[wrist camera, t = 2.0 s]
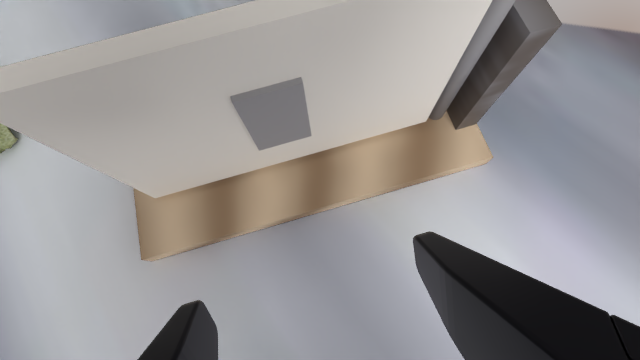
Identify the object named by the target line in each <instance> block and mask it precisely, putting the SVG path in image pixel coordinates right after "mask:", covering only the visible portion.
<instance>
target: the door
mask: <svg viewBox="0 0 640 360" xmlns="http://www.w3.org/2000/svg"><path fill="white" fill-rule="evenodd" d="M515 1H516V0H255V1H251V2H247V3H243V4H240V5H236V6H232V7H228V8H224V9H220V10H217V11H213V12H209V13H205V14H201V15H197V16H194V17H190V18H186V19H182V20H178V21H174V22H171V23H167V24H163V25H159V26H155V27H151V28H148V29H144V30H140V31H136V32H132V33H128V34H125V35H121V36H117V37H113V38H109V39H105V40H102V41H98V42H94V43H90V44H86V45H82V46H78V47H75V48H71V49H67V50H63V51H59V52H55V53H52V54H48V55H44V56H40V57H36V58H32V59H29V60H25V61H21V62H17V63H13V64H9V65H6V66H2V67H0V123H1V124H3V125H5V126H7V127H9V128H11V129H13V130H15V131H17V132H19V133H21V134H23V135H25V136H27V137H29V138H32V139H34V140H36V141H38V142H40V143H42V144H44V145H46V146H48V147H50V148H52V149H54V150H56V151H58V152H60V153H62V154H65V155H67V156H69V157H71V158H73V159H75V160H77V161H79V162H81V163H83V164H85V165H87V166H89V167H91V168H93V169H95V170H98V171H100V172H102V173H104V174H106V175H108V176H110V177H112V178H114V179H116V180H118V181H120V182H122V183H124V184H126V185H128V186H131V187H133V188H135V189H137V190H139V191H141V192H143V193H145V194H147V195H149V196H151V197H153V198H158V197H162V196H165V195H169V194H172V193H176V192H180V191H183V190H187V189H190V188H194V187H197V186H201V185H204V184H208V183H211V182H215V181H218V180H222V179H225V178H229V177H232V176H236V175H239V174H243V173H247V172H250V171H254V170H257V169H261V168H264V167H268V166H271V165H275V164H278V163H282V162H285V161H289V160H292V159H296V158H299V157H303V156H306V155H310V154H314V153H317V152H321V151H324V150H328V149H331V148H335V147H338V146H342V145H345V144H349V143H352V142H356V141H359V140H363V139H366V138H370V137H373V136H377V135H381V134H384V133H388V132H391V131H395V130H398V129H402V128H405V127H409V126H412V125H416V124H419V123H423V122H426V121H427V119H428V118H430V119H432V120H438V119H440V118H442V117H443V115H444V113H445V112H446V110H447V109H448V107H449V105H450V104H451V102H452V101H453V99H454V98H455V96H456V94H457V93H458V91H459V90H460V88H461V86H462V85H463V83H464V82H465V80H466V78H467V77H468V75H469V74H470V72H471V71H472V69H473V67H474V66H475V64H476V63H477V61H478V59H479V58H480V56H481V55H482V53H483V51H484V50H485V48H486V47H487V45H488V44H489V42H490V40H491V39H492V37H493V36H494V34H495V32H496V31H497V29H498V28H499V26H500V24H501V23H502V21H503V20H504V18H505V17H506V15H507V13H508V12H509V10H510V9H511V7H512V5H513V4H514V2H515Z"/></svg>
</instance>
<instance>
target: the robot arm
mask: <svg viewBox="0 0 640 360" xmlns="http://www.w3.org/2000/svg"><path fill="white" fill-rule="evenodd" d="M413 245H414V253H415V261H416V266H417V270H418V272H419V274H420V276H421V278H422V281H423V283H424V285H425V287H426V289H427V291H428V293H429V295H430V297H431V299H432V301H433V303H434V305H435V307H436V309H437V311H438V313H439V315H440V317H441V319H442V321H443V323H444V325H445V327H446V329H447V331H448V333H449V335H450V336H451V338H452V340H453V342H454V343H455V345H456V346H457V348H458V350H459V351H460V353H461V354H462V356H463V358H464V359H465V360H640V327H639V326H637V325H635V324H633V323H630V322H628V321H626V320H624V319H622V318H620V317H617V316H615V315H611V316H609V314H608V313H607V312H606V311H604V310H602V309H600V308H597V307H595V306H593V305H591V304H589V303H586V302H584V301H582V300H580V299H578V298H576V297H573V296H571V295H569V294H567V293H565V292H562V291H560V290H558V289H556V288H554V287H552V286H549V285H547V284H545V283H543V282H541V281H538V280H536V279H534V278H532V277H530V276H528V275H525V274H523V273H521V272H519V271H517V270H514V269H512V268H510V267H508V266H506V265H504V264H501V263H499V262H497V261H495V260H493V259H490V258H488V257H486V256H484V255H482V254H480V253H477V252H475V251H473V250H471V249H469V248H466V247H464V246H462V245H460V244H458V243H456V242H453V241H451V240H449V239H447V238H445V237H442V236H440V235H438V234H436V233H434V232H426V233H422V234H419V235H416V236H415V237H414V238H413ZM138 360H218V333H217V327H216V324H215V322H214V321H213V319H212V317H211V315H210V313H209V312H208V310H207V308H206V306H205V305H204V303H203V302H202V301H200V300H197V301H194V302H190V303H187V304H184V305H182V306H181V307H180V308H179V309H178V310H177V311H176V313H175V314H174V315H173V316H172V318H171V319H170V320H169V321H168V322H167V324H166V325H165V326H164V327H163V329H162V330H161V331H160V332H159V334H158V335H157V336H156V337H155V339H154V340H153V341H152V342H151V344H150V345H149V346H148V347H147V349H146V350H145V351H144V352H143V354H142V355H141V356H140V357H139V359H138Z"/></svg>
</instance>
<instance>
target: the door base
mask: <svg viewBox="0 0 640 360" xmlns="http://www.w3.org/2000/svg"><path fill="white" fill-rule="evenodd" d="M561 25H562V23H561V22H560V20H559V19H558V17H557V15H556V14H555V12H554V11H553V9H552V8H551V7H550V5H549V3H548V2H547V0H516V1H515V2H514V4H513V5H512V7H511V9H510V10H509V12H508V13H507V15H506V17H505V18H504V20H503V21H502V23H501V24H500V26H499V28H498V29H497V31H496V32H495V34H494V36H493V37H492V39H491V40H490V42H489V44H488V45H487V47H486V48H485V50H484V51H483V53H482V55H481V56H480V58H479V59H478V61H477V63H476V64H475V66H474V67H473V69H472V71H471V72H470V74H469V75H468V77H467V78H466V80H465V82H464V83H463V85H462V86H461V88H460V90H459V91H458V93H457V94H456V96H455V98H454V99H453V101H452V102H451V104H450V105H449V107H448V109H447V110H446V112H445V113H444V115H443V117H442V118H440V119H438V120H432V119H430V118H428V119H427V121H426V122H423V123H419V124H416V125H412V126H409V127H405V128H402V129H398V130H395V131H391V132H388V133H384V134H381V135H377V136H373V137H370V138H366V139H363V140H359V141H356V142H352V143H349V144H345V145H342V146H338V147H335V148H331V149H328V150H324V151H321V152H317V153H314V154H310V155H306V156H303V157H299V158H296V159H292V160H289V161H285V162H282V163H278V164H275V165H271V166H268V167H264V168H261V169H257V170H254V171H250V172H247V173H243V174H239V175H236V176H232V177H229V178H225V179H222V180H218V181H215V182H211V183H208V184H204V185H201V186H197V187H194V188H190V189H187V190H183V191H180V192H176V193H172V194H169V195H165V196H162V197H158V198H153V197H151V196H149V195H147V194H145V193H143V192H141V191H139V190H137V189H135V188H134V197H135V206H136V215H137V225H138V234H139V243H140V252H141V260H146V261H155V260H158V259H162V258H165V257H168V256H172V255H175V254H179V253H182V252H186V251H189V250H192V249H196V248H199V247H203V246H206V245H209V244H213V243H216V242H220V241H223V240H227V239H230V238H233V237H237V236H240V235H244V234H247V233H251V232H254V231H257V230H261V229H264V228H268V227H271V226H275V225H278V224H281V223H285V222H288V221H292V220H295V219H299V218H302V217H305V216H309V215H312V214H316V213H319V212H323V211H326V210H329V209H333V208H336V207H340V206H343V205H347V204H350V203H353V202H357V201H360V200H364V199H367V198H371V197H374V196H377V195H381V194H384V193H388V192H391V191H394V190H398V189H401V188H405V187H408V186H412V185H415V184H418V183H422V182H425V181H429V180H432V179H436V178H439V177H442V176H446V175H449V174H453V173H456V172H460V171H463V170H466V169H470V168H473V167H477V166H480V165H484V164H486V163H487V162H488V161H490V160H491V159H492V158H493V156H492V154H491V152H490V150H489V148H488V145H487V143H486V141H485V139H484V137H483V135H482V133H481V131H480V129H479V127H478V125H477V122H478V121H479V120H480V119H481V117H482V116H483V115H484V114H485V113H486V112H487V111H488V109H489V108H490V107H491V106H492V105H493V104H494V102H495V101H496V100H497V99H498V98H499V97H500V96H501V94H502V93H503V92H504V91H505V90H506V89H507V87H508V86H509V85H510V84H511V83H512V82H513V80H514V79H515V78H516V77H517V76H518V75H519V74H520V72H521V71H522V70H523V69H524V68H525V67H526V65H527V64H528V63H529V62H530V61H531V60H532V58H533V57H534V56H535V55H536V54H537V53H538V52H539V50H540V49H541V48H542V47H543V46H544V45H545V43H546V42H547V41H548V40H549V39H550V38H551V37H552V35H553V34H554V33H555V32H556V31H557V30H558V28H559V27H560V26H561Z"/></svg>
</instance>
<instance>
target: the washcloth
mask: <svg viewBox="0 0 640 360" xmlns="http://www.w3.org/2000/svg"><path fill="white" fill-rule="evenodd" d="M17 140H18V138H15V136H14V135H13V134H12V133H11V131H10V130H9V128H8V127H7V126H5V125H3V124H1V123H0V153H2V151H5V149H7V148H11V147H12V145H13V144H15V143H16V141H17Z"/></svg>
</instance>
